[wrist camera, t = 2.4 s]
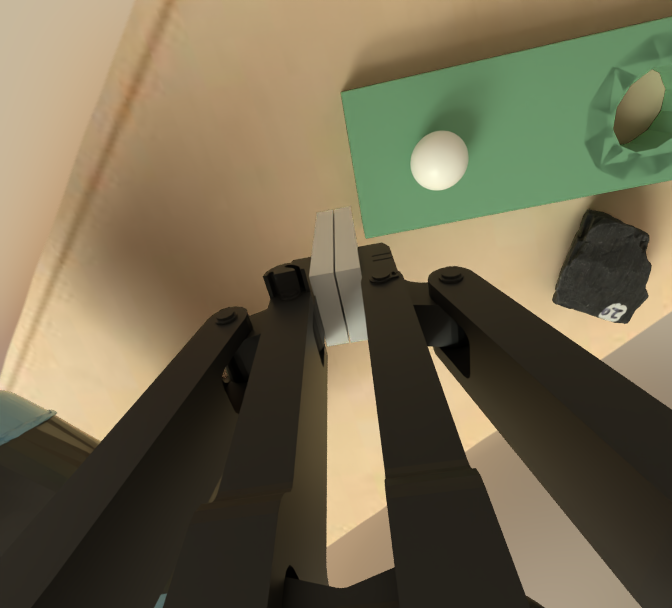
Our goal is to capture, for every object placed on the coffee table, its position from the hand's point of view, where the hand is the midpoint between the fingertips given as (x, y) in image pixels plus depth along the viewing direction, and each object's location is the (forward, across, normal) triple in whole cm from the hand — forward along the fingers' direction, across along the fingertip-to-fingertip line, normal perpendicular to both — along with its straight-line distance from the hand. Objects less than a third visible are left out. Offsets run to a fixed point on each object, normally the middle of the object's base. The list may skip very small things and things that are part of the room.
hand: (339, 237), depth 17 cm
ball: (+11, +8, 0) cm, 14 cm away
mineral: (+17, +21, -13) cm, 30 cm away
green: (+16, +15, 0) cm, 23 cm away
